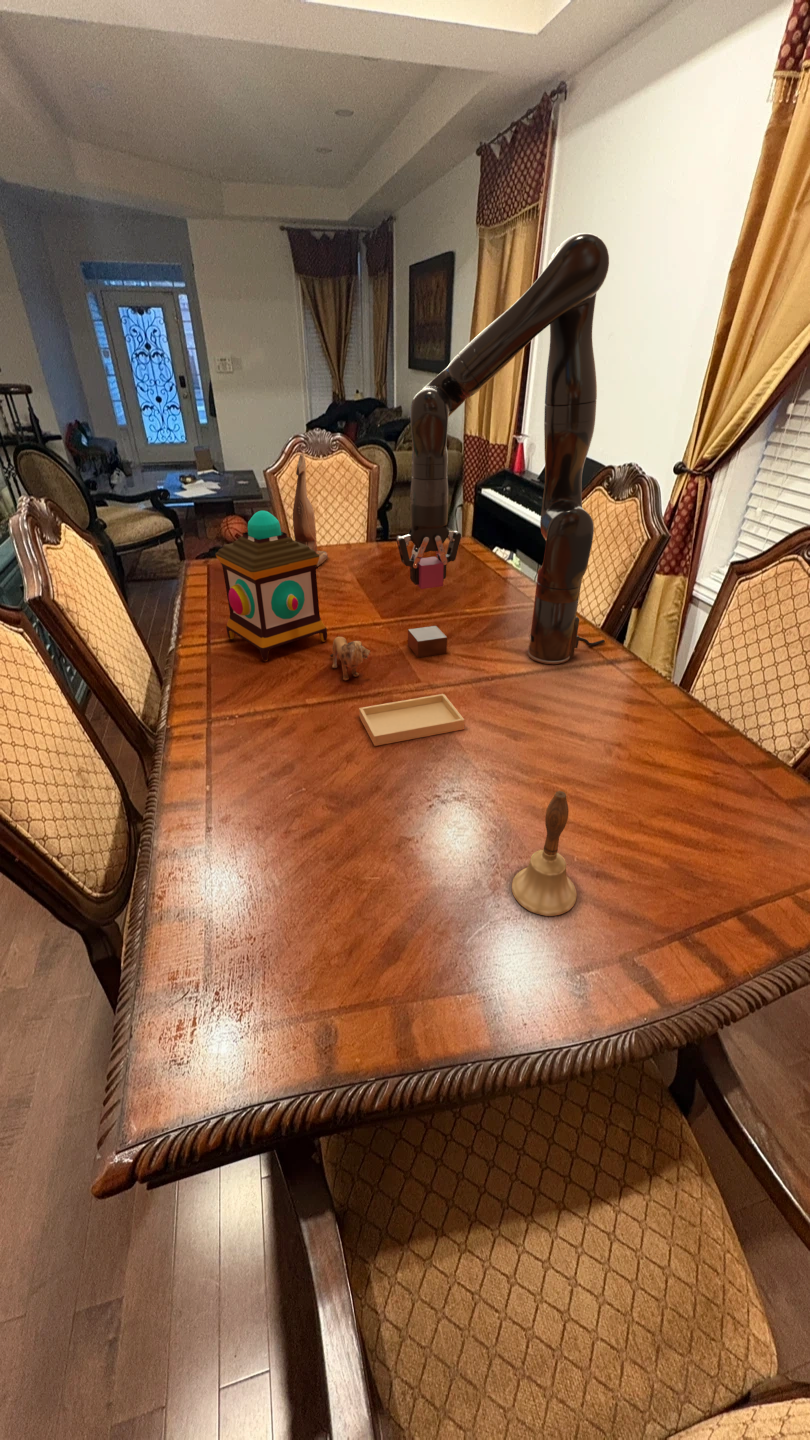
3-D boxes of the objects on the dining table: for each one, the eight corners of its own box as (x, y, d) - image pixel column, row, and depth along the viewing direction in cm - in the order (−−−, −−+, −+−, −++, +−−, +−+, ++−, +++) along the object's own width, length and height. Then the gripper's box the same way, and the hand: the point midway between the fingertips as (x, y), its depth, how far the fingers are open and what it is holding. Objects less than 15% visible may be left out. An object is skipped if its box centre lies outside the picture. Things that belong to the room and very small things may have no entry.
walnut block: (435, 641, 144) (436, 625, 142) (446, 653, 139) (447, 637, 137) (407, 645, 142) (407, 629, 140) (417, 657, 137) (418, 641, 135)
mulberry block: (434, 578, 134) (435, 556, 131) (443, 586, 130) (443, 563, 127) (413, 581, 132) (413, 558, 130) (421, 589, 128) (421, 565, 126)
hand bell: (505, 869, 82) (516, 775, 74) (564, 865, 83) (583, 772, 74) (520, 918, 75) (534, 821, 67) (585, 914, 76) (608, 817, 67)
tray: (443, 702, 120) (443, 693, 119) (464, 729, 112) (464, 719, 111) (359, 717, 115) (359, 707, 114) (374, 746, 107) (374, 736, 106)
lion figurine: (373, 681, 127) (372, 642, 123) (351, 688, 125) (349, 648, 120) (340, 655, 138) (338, 618, 133) (319, 661, 135) (316, 623, 130)
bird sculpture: (284, 566, 191) (272, 457, 174) (295, 555, 201) (286, 451, 184) (318, 568, 190) (310, 458, 173) (328, 557, 199) (321, 452, 182)
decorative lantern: (261, 667, 133) (242, 528, 117) (219, 638, 145) (196, 509, 129) (336, 641, 144) (327, 511, 128) (291, 617, 157) (278, 495, 141)
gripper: (401, 507, 117) (401, 592, 126) (469, 501, 121) (465, 584, 130) (389, 499, 123) (391, 580, 132) (455, 493, 127) (452, 573, 136)
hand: (428, 581), depth 131 cm, fingers closed on mulberry block, 5 cm apart
